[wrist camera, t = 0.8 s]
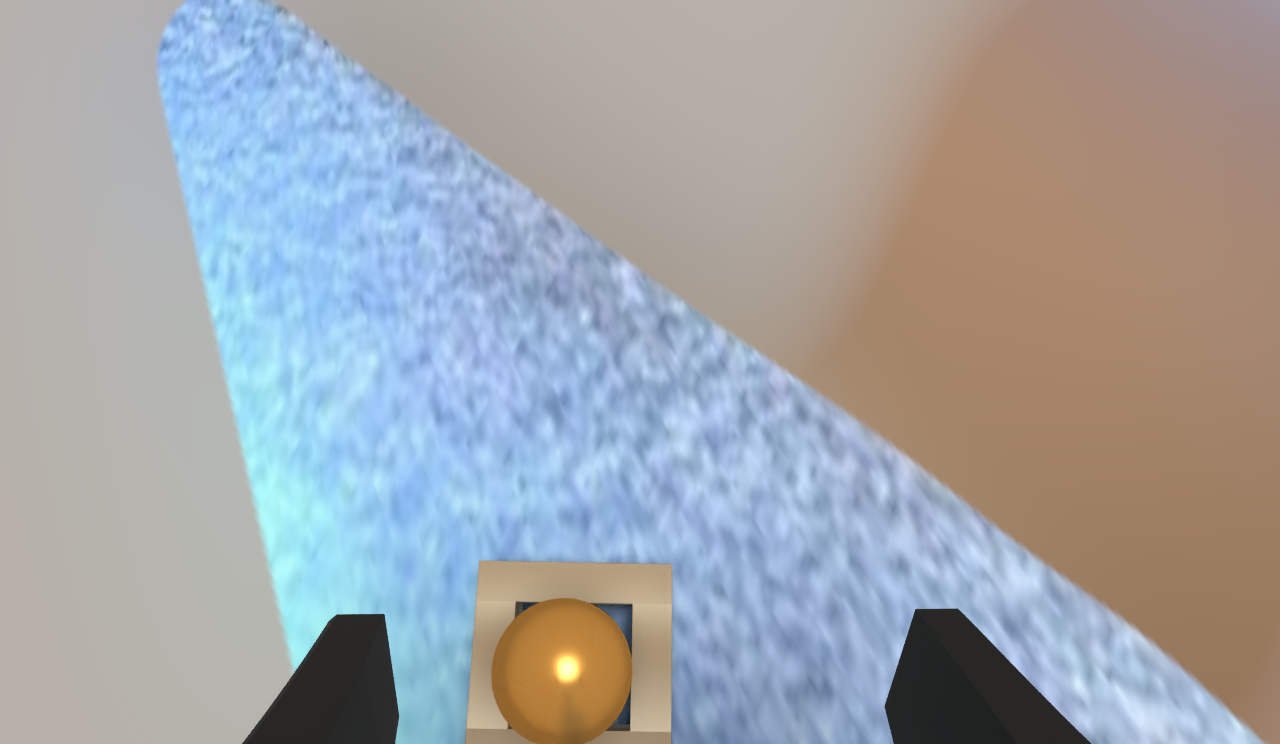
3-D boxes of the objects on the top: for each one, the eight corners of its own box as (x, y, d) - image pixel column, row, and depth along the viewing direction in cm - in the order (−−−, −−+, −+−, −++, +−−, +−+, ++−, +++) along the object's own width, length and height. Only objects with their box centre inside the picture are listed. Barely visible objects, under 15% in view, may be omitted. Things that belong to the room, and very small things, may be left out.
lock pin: (629, 723, 25) (631, 749, 20) (516, 721, 25) (486, 747, 20) (632, 605, 27) (633, 599, 21) (523, 603, 26) (496, 596, 21)
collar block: (667, 766, 25) (671, 777, 23) (475, 762, 25) (462, 773, 23) (668, 569, 27) (672, 564, 25) (489, 565, 27) (479, 560, 25)
